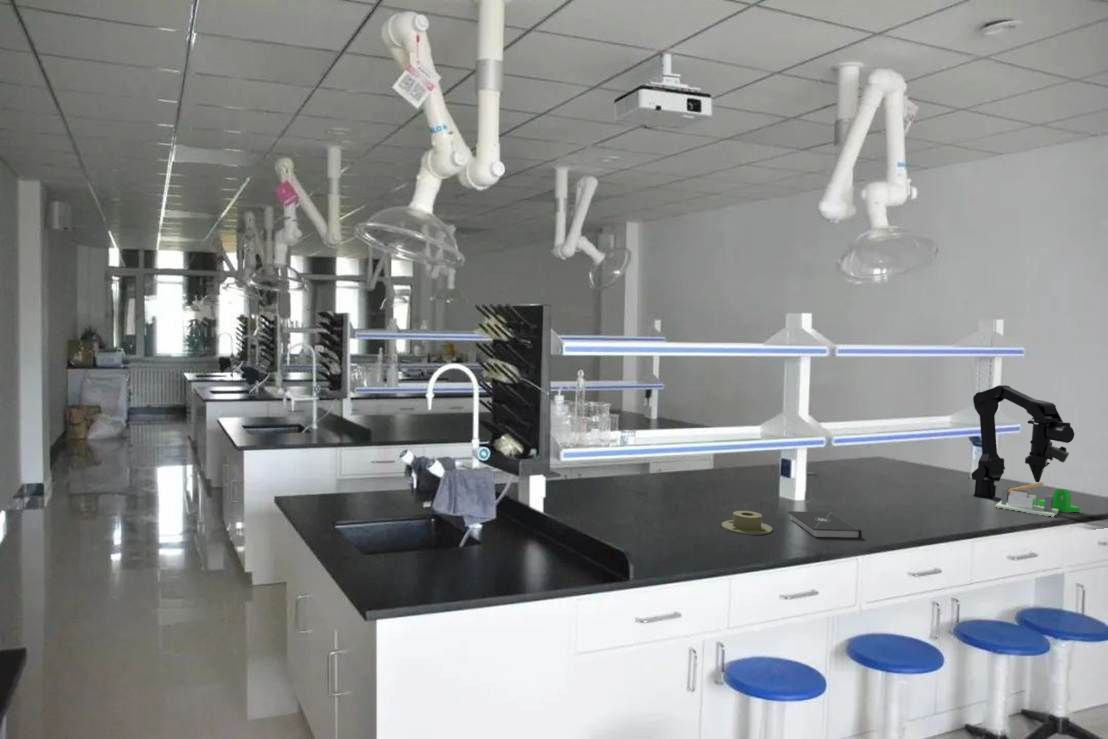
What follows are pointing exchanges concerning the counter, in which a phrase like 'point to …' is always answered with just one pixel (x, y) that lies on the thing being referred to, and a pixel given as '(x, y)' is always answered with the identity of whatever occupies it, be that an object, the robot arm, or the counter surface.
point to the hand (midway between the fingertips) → (1037, 482)
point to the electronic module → (1024, 499)
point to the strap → (1026, 486)
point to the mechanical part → (1062, 501)
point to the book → (825, 524)
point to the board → (1035, 510)
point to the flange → (747, 523)
